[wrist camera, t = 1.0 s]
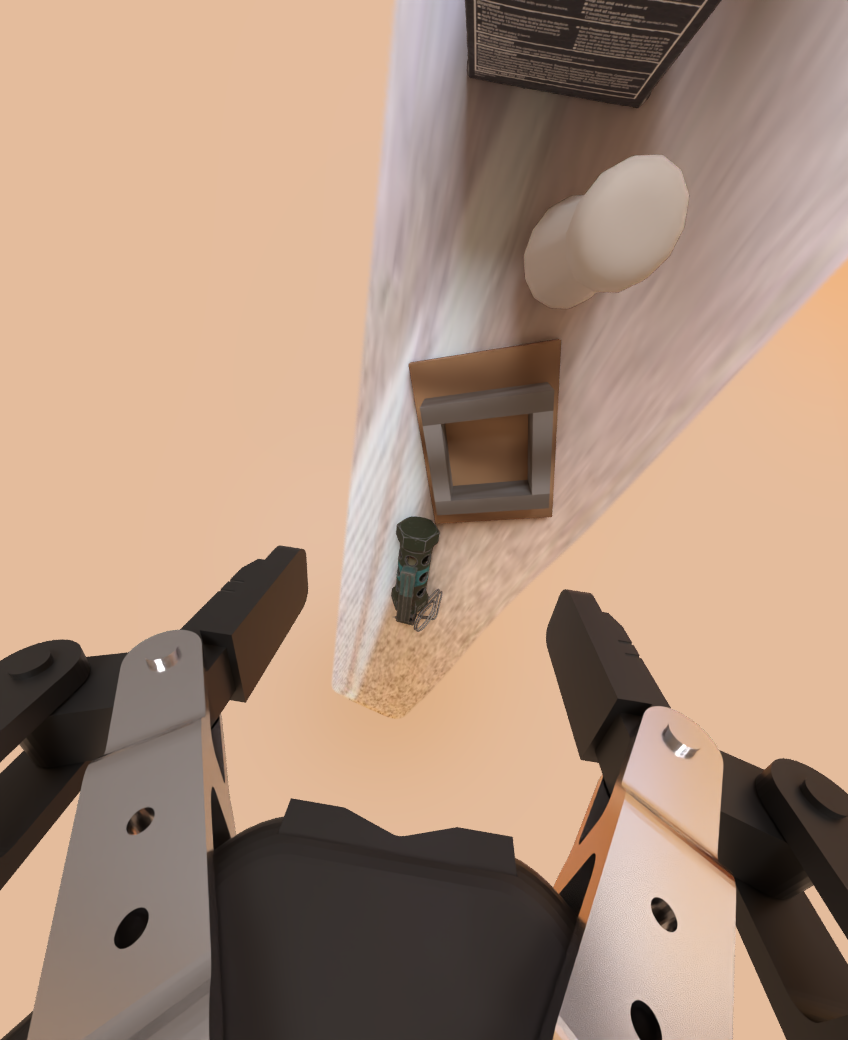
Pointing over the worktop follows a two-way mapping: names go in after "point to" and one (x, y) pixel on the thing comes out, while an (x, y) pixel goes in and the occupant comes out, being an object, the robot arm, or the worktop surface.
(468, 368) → the socket board
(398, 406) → the worktop surface
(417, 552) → the stun grenade
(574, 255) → the salt shaker
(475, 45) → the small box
